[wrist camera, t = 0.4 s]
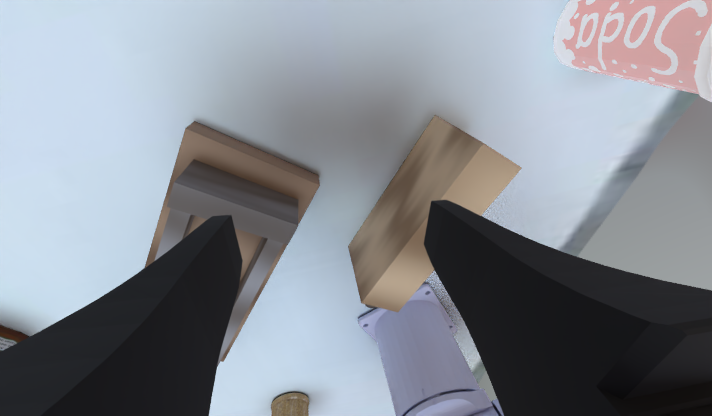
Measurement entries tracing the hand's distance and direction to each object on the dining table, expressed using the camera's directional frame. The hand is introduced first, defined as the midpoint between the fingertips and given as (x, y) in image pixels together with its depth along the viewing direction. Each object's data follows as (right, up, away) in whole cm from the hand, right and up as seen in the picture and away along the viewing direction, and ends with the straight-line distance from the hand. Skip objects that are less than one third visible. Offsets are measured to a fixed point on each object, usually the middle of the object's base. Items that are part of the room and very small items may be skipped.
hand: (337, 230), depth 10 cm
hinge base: (-10, -3, +11) cm, 16 cm away
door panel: (+4, +2, +11) cm, 12 cm away
